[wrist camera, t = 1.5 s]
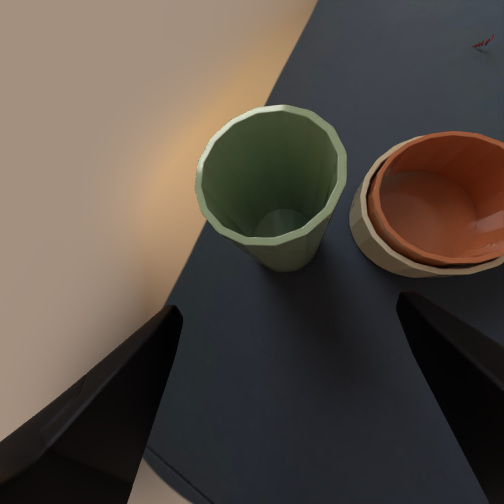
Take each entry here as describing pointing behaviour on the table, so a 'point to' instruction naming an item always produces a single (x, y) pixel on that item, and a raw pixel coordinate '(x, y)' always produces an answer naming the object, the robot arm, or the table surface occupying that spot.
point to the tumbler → (273, 183)
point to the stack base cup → (380, 250)
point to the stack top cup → (458, 173)
